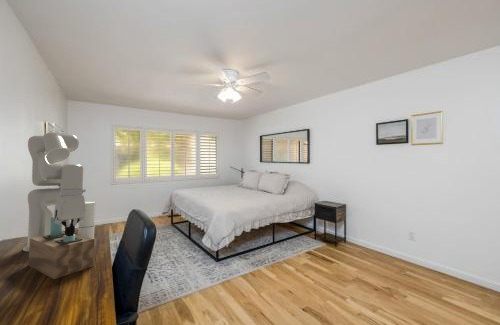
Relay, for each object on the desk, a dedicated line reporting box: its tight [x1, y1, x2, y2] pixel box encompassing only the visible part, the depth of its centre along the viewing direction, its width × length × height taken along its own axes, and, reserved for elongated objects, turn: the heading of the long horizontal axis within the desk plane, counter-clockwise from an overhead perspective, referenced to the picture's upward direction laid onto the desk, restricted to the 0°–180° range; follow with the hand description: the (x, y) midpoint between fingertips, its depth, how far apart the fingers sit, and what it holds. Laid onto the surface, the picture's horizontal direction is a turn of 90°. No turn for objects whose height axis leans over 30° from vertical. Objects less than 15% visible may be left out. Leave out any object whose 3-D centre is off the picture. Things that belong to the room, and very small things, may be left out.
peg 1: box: [50, 215, 63, 238], centre depth 103 cm, size 4×4×12 cm
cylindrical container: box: [77, 201, 97, 240], centre depth 121 cm, size 7×7×25 cm
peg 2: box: [63, 234, 75, 242], centre depth 97 cm, size 4×4×12 cm
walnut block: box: [27, 231, 95, 280], centre depth 100 cm, size 14×24×12 cm, turn 62°
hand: (69, 235), depth 97 cm, fingers closed
